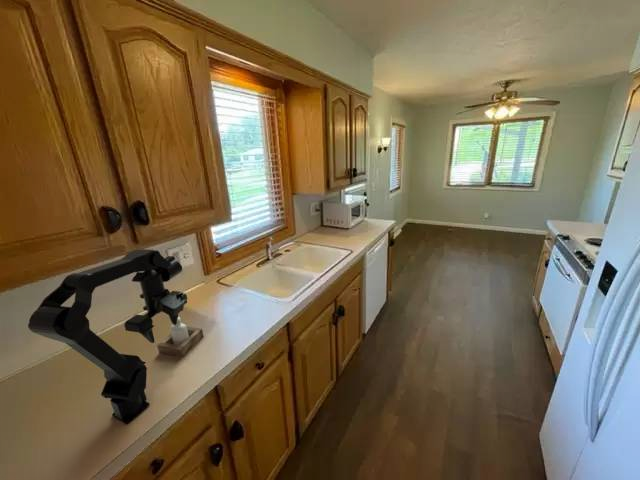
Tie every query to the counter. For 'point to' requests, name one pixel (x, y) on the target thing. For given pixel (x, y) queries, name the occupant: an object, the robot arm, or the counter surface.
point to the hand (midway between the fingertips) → (164, 333)
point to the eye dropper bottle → (179, 332)
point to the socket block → (180, 351)
